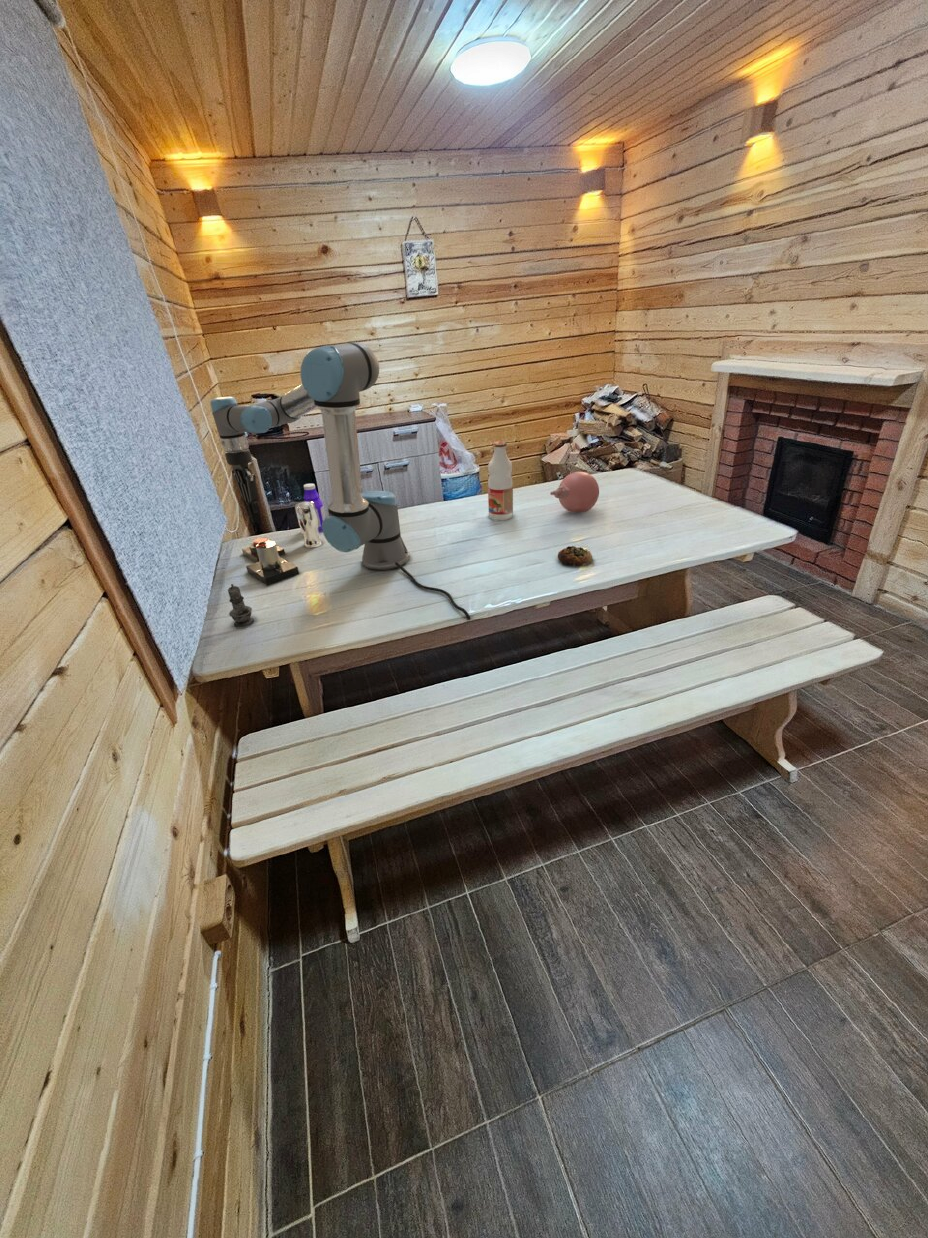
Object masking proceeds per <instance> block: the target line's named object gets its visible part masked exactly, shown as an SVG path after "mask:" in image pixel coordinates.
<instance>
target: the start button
mask: <svg viewBox="0 0 928 1238" xmlns="http://www.w3.org/2000/svg"><path fill="white" fill-rule="evenodd" d="M268 539H269V538H268V537H265V536H260V537H256V538H254V539H253V540H252V543H253V544H254V547H256V545H257V544H259V543H261V542H265V541H268Z"/></svg>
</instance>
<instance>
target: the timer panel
mask: <svg viewBox="0 0 928 1238" xmlns="http://www.w3.org/2000/svg"><path fill="white" fill-rule="evenodd" d="M279 559H280V563H281V566H280V567H278V568H276V569H273V570H263V569H262V567H261V564H260V561H259V562H253V563H251V564H248V565H245V567H246V571H247V574H249V575H250V576H252V577H253V578H255V579H256V580H258V581H259V582H260V583H262V584H263V585H265V586H266V587H267V586H271V585H273V584H276V583H278V582H281V581H285V580H286V579H290V578H292V577H294V576H297V575H299V574H300V571H299V568H298V566H297V565H295V564H293V563H291V562H290V561H288V560H286V559H285V558H283V557H282V556H279Z"/></svg>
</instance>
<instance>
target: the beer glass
mask: <svg viewBox="0 0 928 1238" xmlns="http://www.w3.org/2000/svg"><path fill="white" fill-rule="evenodd" d="M294 509H295V515H296V519H297V522H298V526H299V528H300V530H301V533H302V535H303V540H304V541H303V544H304V547H305V548H307V549H308V548H309V549H313V548H314V549H315V548H317V547H320V546H321V545H322V543H323V542H322V539H321V537H320V533H319V532H320V531H318V516H317V512H316V508H315V505H314V502H311V501H306V502H304V501H301V502H298V503H296V504H294Z"/></svg>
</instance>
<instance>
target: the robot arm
mask: <svg viewBox="0 0 928 1238" xmlns="http://www.w3.org/2000/svg"><path fill="white" fill-rule="evenodd" d="M379 375H380V363H379V359H378V357H377V355H376V354H375V352H374V351H373V350H372V349H371V348H370V347H369V346H367V345H365V344H363V343H360V342H347V343H338V344H328V345H321V346H319V347H315V348H313V349H310V350H309V351H308V352H307V353H306V354H305V356H304V357H303V359H302V361H301V365H300V382H301V384H299V385H298V386H296V387H294V388H292V389H291V390H289V391H287V392H285V393H284V394H283V395H281V396H279V397H277V398H273V399H269V400H266V401H261V402H256V403H251V404H242V405H240V404H238V401H237V399H236V397H234V396H219V397H215V398H212V399H211V400H210V401H209V404H210V408H211V414H212V417H213V419H214V423H215V426H216V429H217V433H218V435H219V439H220V441H219V445H220V446H222V449H223V451H224V458H225V460H226V463H227V465H229V466H232V467H233V469H232V470H231V473H232V476H233V478H234V480H235V482H236V485H237V488H238V491H239V494H240V497H241V499H242V500H243V501H244V502H245V504H246V506H247V510H248V513H249V517H250V520H251V523H253V524H255V523H259V522H262V518H261V514H260V511H259V507H258V503H259V501H260V499H259V493H258V488H257V480H256V479H257V475H256V474H254V473H252V470H251V468H250V465H249V463H251V462H253V458H252V454H251V451H250V449H249V447H250V445H249V441H248V438H247V435H246V433H251V434H256V435H257V434H264V433H265V434H266V433H267V432H268V431H269V430H270V429H273V428H275V427H279V426H282V425H286V424H292V423H294V422H297V421H299V420H301V418H302V416H304V415H306V414H308V413H310V412H313V411H314V410H316V409H318V410H319V411H320V412H321V419H322V427H323V436H324V443H325V453H326V459H327V469H328V476H329V483H330V484H329V485H330V491H331V493H330V494H331V500H330V501H329V502H328V503H327V512H328V516H325V519H324V521H323V522H322V531H321V532H322V533H323V534H322V535H323V536H324V538H325V539H326V541H327V542H328V543H329V544H330V546H331V547H333V549H335V550H337V551H339V552H341V553H350V552H353V551H354V550H358V549H360V547H362V546H363V551H362V552H363V553H362V556H361V559H362V564H363V566H364V567H365V568H367V569H369V570H373V571H390V570H394V569H397V568H398V569H400V570H401V571H402V572H403V573H404V574H405V575H406V576H408V577H409V579H410V580H411V581H412V582H413V583H414V584H415V586H417V587H419V588H420V589H424V590H427V591H433V592H439V593H442V594H443V595H445V596H447V598H448V599H449V601H450V603H451V605H452V606H453V607H454V608H455V609H457V610H458V611H461V612H462V613H463V614H464V616H465V618H466V619H467V620H468V621H470V620H472V618H471V616H470V614H469V613H468V612H467V610H466V609H465V608H463V607H461V606H459V605H458V604H457V603H456V602H455V600H454V598H453V597H452V595H451V594H450V593H449V592H447V590H445V589H442V588H437V587H433V586H432V587H431V586H426V585H423V584H422V583H420V582H418V581H417V580H416V578H415V577H414V576H413V575H412V574H411V573H410V572H409V571H408V570H407V569H406V568H404V567H403V566H404V565H406V564H407V563H408V562H409V560H410V554H409V550H408V549H407V547H406V544H405V542H404V540H403V538H402V534H401V526H400V517H399V508H398V506H399V505H398V502H397V497H396V495H395V494H394V492H391V491H388V490H387V491H386V490H367V491H363V485H362V476H361V474H362V473H361V464H360V462H361V461H360V452H359V442H358V430H357V418H356V410H357V409H358V408H359V407H360V406H361V399H360V398H361V397H360V393H361V392H364V391H367V390H368V389H370V388H372V387H373V386H374V385H375V384H376V382H377V381H378V378H379Z"/></svg>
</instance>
